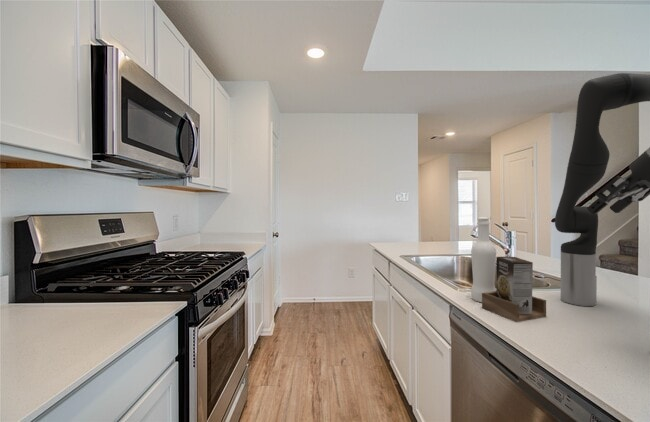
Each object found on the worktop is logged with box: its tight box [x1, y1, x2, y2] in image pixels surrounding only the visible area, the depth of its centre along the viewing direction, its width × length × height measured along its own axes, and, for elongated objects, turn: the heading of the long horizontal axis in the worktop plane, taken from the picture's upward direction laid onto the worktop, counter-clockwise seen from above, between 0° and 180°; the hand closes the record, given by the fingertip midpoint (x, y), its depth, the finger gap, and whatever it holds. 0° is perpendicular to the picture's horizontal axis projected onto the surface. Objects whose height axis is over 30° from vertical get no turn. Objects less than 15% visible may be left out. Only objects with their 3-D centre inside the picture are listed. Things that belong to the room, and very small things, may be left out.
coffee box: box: [495, 256, 534, 314], centre depth 94 cm, size 9×6×16 cm
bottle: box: [470, 216, 497, 304], centre depth 106 cm, size 8×8×30 cm
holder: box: [481, 291, 547, 323], centre depth 94 cm, size 12×12×5 cm
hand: (602, 211), depth 74 cm, fingers open, 8 cm apart
